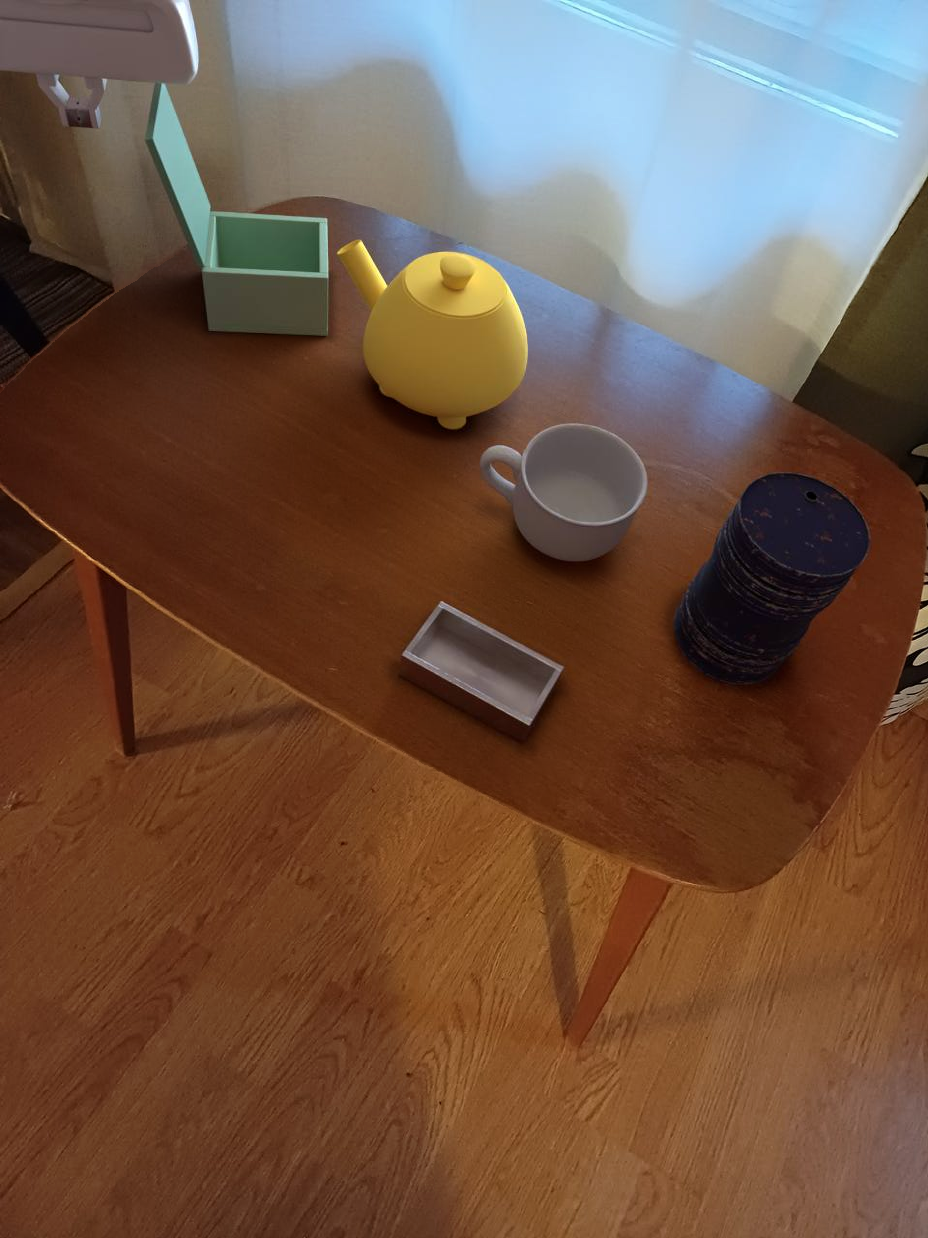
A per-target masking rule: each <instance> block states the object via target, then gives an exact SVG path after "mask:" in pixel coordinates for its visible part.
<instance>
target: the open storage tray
mask: <svg viewBox="0 0 928 1238" xmlns="http://www.w3.org/2000/svg"><path fill="white" fill-rule="evenodd" d="M564 670H565V667H564V666H563V665H561V664H559V663H557V662H555V661H553V660H552V659H551V658H548V657H546V656H544V655H542V654H541V653H539V652H537V651H535V650H533V649H531V648H530V647H527V646H525V645H523V644H521V643H520V642H518V641H516V640H514V639H513V638H511V637H509V636H507V635H505V634H503V633H501V632H499V631H498V630H496V629H494V628H492V627H491V626H488V625H486V624H485V623H483V622H481V621H479V620H477V619H476V618H473V617H471V616H469V615H468V614H466V613H464V612H462V611H460V610H458V609H456V608H454V607H453V606H451V605H449V604H448V603H445V602H443V601H439V603H438V604H437V606H436V607H435V608H434V610H433V611H431V613H430V615H429V616H428V617H427V619H426V621H425V622H424V623H423V624H422V626H421V628H420V629H418V631H417V632H416V634H415V636H414V637H413V638H412V640H410V643H409V644H408V645H407V647H406V648H405V649H404V651H403V652H402V653H401V656H400V663H399V672H398V675H399V676H401V677H402V678H404V679H406V680H408V681H409V682H411V683H413V684H414V685H417V686H418V687H420V688H421V689H424V690H425V691H427V692H429V693H430V694H432V695H434V696H436V697H438V698H439V699H441V700H443V701H445V702H447V703H448V704H450V705H452V706H454V707H455V708H458V709H460V710H461V711H463V712H465V713H466V714H468V715H470V716H472V717H473V718H475V719H477V720H479V721H481V722H482V723H484V724H486V725H488V726H490V727H492V728H493V729H495V730H497V731H498V732H500V733H502V734H504V735H506V736H508V737H510V738H511V739H513V740H515V741H517V742H519V743H520V744H524V742H525V741H526V738H527V737H528V735H529V733H530V732H531V730H532V728H533V727H534V725H535V724H536V722H537V720H538V719H539V716H540V715H541V713H542V711H543V710H544V709H545V706H546V705H547V703H548V701H549V699H550V697H552V694H553V693H554V691H555V690H556V687H557V685H558V683H559V681H560V678H561V676H562V674H563V671H564Z"/></svg>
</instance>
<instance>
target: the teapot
mask: <svg viewBox="0 0 928 1238" xmlns="http://www.w3.org/2000/svg"><path fill="white" fill-rule="evenodd" d="M336 254H337V256H338V259H339V260H340V262H341V263H342V264H343V267H344V268H345V270H346V272H347V273H348V275H349V277H350V279H351V280H352V282H353V284H354V285H355V287H356V289H357V291H358V292H359V294H360V296H361V298H362V299H363V302H364V303H365V305H366V306H367V308H368V310H369V311H370V314H369V317H368V319H367V322H366V325H365V329H364V334H363V340H362V342H363V343H362V355H363V359H364V362H365V366H366V368H367V370H368V372H369V374H370V376H371V377H372V378H373V380H374V381H375V383H377V385H378V386H379V391H380V393H381V394H382V395H384V396H386V397H389V398H392V399H394V400H395V401H397V402H398V403H400V404H401V405H403V406H405V407H406V408H408V409H410V410H413V411H415V412H418V413H420V414H423V415H427V416H431V417H435V418H437V421H438V423H439V425H441V426H442V427H443V428H446V429H448V430H458V429H461V428H463V426H465V424H466V423H467V417H471V416H473V415H477V414H481V413H483V412H486V411H488V410H491V409H493V408H494V407H496V406H498V405H500V404H502V403H503V402H505V401H506V400H508V398H509V397H510V396H512V395H513V394H514V392H515V391H516V390H517V389H518V388H519V387H520V385H521V384H522V381H523V379H524V377H525V374H526V370H527V365H528V356H529V355H528V353H529V352H528V351H529V346H528V335H527V328H526V325H525V320H524V317H523V314H522V311H521V309H520V307H519V304H518V302H517V300H516V298H515V296H514V293H513V292H512V290H511V289H510V286H509V285H508V283H507V282H506V279H505V278H504V277H503V275H502V274H501V273H500V272H499V271H498V270H497V269H496V268H495V267H494V266H492V265H491V264H489V262H486V261H485V260H483V259H480V258H478V257H476V256H473V255H472V254H471V255H470V254H468V253H463V252H457V251H437V252H431V253H427V254H424V255H421V256H419V257H418V258H416V259H414V260H412V261H411V262H410V263H408V265H406V266H405V267H404V268H403V269H402V270H401V271H399V273H398V274H397V275H396V276H395V277H394V278H393V279H392V280H391V281H390V282H389V283H388V284H387V283H386V282H385V280H384V278H383V276H382V274H381V272H380V271H379V269H378V268H377V265H376V264H375V262H374V261H373V258H372V257H371V255H370V253H369V252H368V250H367V248H366V246H365V245H364V243H363V241H362V239H361V238H360V239H359V238H358V239H355V240H353V241H351V242H349V243H348V244H347V243H346V244H345V245H344V246H343V247H341V248H340V249H339V250H338V251H337V252H336Z"/></svg>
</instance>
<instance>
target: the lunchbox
mask: <svg viewBox="0 0 928 1238" xmlns="http://www.w3.org/2000/svg"><path fill="white" fill-rule="evenodd" d="M328 246H329V245H328V218H326V217H310V216H295V215H294V216H293V215H281V214H280V215H278V214H265V213H263V214H262V213H250V212H249V213H247V212H246V213H245V212H231V211H218V210H217V211H213V210H210V217H209V227H208V237H207V248H206V258H205V267H201V276H202V284H203V285H202V286H203V294H204V301H205V302H204V303H205V310H206V318H207V319H206V320H207V327H208V331H209V332H226V333H227V332H228V333H252V334H274V335H275V334H276V335H299V336H318V337H319V336H321V337H322V336H323V337H325V336H326V337H327V336H328V335H329V334H328V333H329V249H328V248H329V247H328Z"/></svg>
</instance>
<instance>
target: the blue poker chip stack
mask: <svg viewBox="0 0 928 1238" xmlns="http://www.w3.org/2000/svg"><path fill="white" fill-rule="evenodd" d="M870 547H871V533H870V529H869V526H868V523H867V521H866V519H865V517H864V515H863V514H862V513H861V511H860V509H859V508H858V506H857V505H856V504H854V502H853V501H852V500H851V499H849V497H848V496H846V495H845V494H844V493H843V492H841V491H840V490H838V489H837V488H836V487H834V486H833V485H831V484H829V483H827V482H825V481H823V480H820V479H818V478H816V477H813V476H810V475H807V474H802V473H799V472H789V471H785V472H784V471H782V472H771V473H768V474H763V475H761V476H759V477H757V478H755V479H754V480H752V481H751V482H750V483H749V484H748V485H747V486H746V487H745V489H744V490H743V491H742V493H741V495H740V497H739V498H738V501H737V502H736V504H735V506H734V507H733V508H732V509H731V511H730V512H729V514H728V516H727V517H726V519H725V521H724V523H723V525H722V527H721V529H720V530H719V531H718V533H717V535H716V537H715V542H714V544H713V550H712V552H711V554H710V556H709V558H708V560H707V561H705V562H704V563H703V564H702V566H701V567H700V569H698V571H697V573H696V575H695V576H694V577H693V579H692V580H691V581H690V583H689V585H688V587H686V591H685V593H684V594H683V598H682V601H681V602H680V603H679V605H678V606H677V609H676V611H675V613H674V617H673V634H674V638H675V641H676V644H677V645H678V648H679V650H680V651H681V653H682V654H683V655H684V657H685V658H686V659H687V660H688V661H689V663H690V664H692V665H693V666H694V667H695V668H696V669H698V671H700V672H702V673H703V674H704V675H706V676H707V677H710V678H712V679H714V680H717V681H719V682H722V683H725V684H726V683H727V684H730V685H731V684H732V685H738V686H743V685H744V686H745V685H753V684H758V683H760V682H763V681H765V680H767V679H768V678H770V677H771V676H773V674H775V673H776V672H777V671H778V670H779V668H780V667H781V665H782V663H784V662H785V661H786V660H787V659H789V657H790V656H791V655H792V654H793V653H794V651H795V650H796V649H797V647H798V646H799V645H800V643H801V641H802V639H803V638H804V637H805V636H806V634H807V632H808V630H809V628H810V626H811V623H812V622H813V620H814V619H815V618H816V616H817V615H818V614H820V613H821V612H823V611H825V609H826V608H828V607H829V606H831V604H832V603H833V602H834V601H835V599H836V598H837V596H838V595H839V594H840V593H841V592H842V591H843V590H844V588H845V587H846V586H847V584H848V583H849V581H850V580H851V578H852V576H853V575H854V573H855V571H856V570H857V569H858V568H859V567H860V566H861V565H862V564H863V562H864V561H865V560H866V557H867V556H868V553H869V551H870Z"/></svg>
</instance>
